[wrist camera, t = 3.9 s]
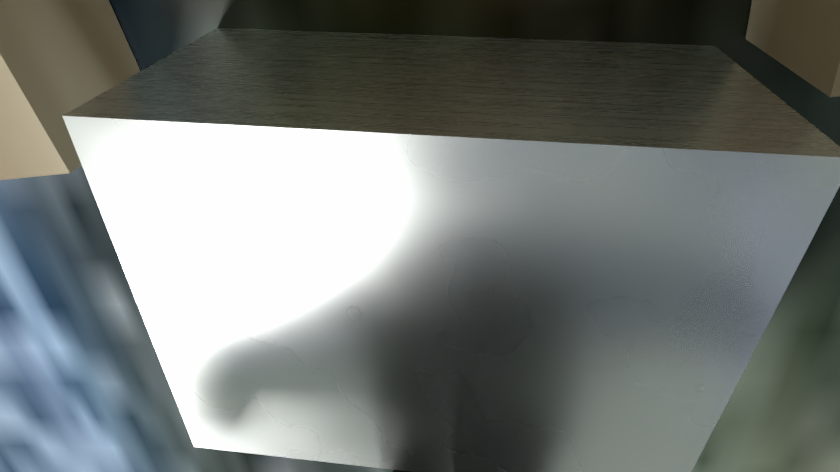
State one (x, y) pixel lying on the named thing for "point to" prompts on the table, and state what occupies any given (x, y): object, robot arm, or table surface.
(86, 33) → the can bracket
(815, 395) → the table surface
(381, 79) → the aluminium block
